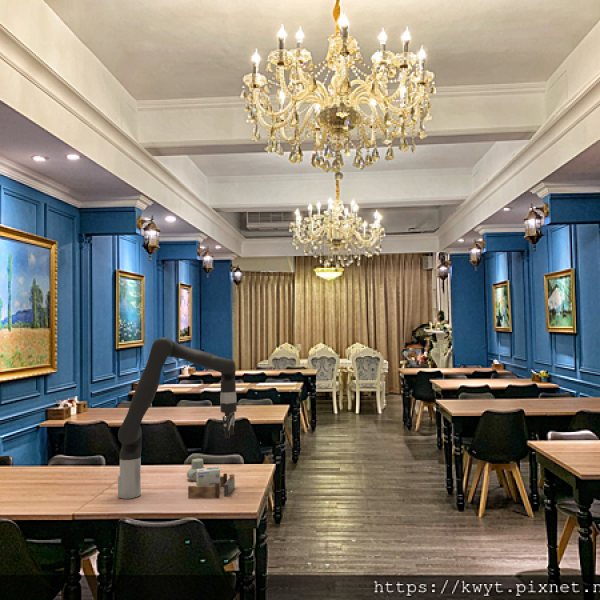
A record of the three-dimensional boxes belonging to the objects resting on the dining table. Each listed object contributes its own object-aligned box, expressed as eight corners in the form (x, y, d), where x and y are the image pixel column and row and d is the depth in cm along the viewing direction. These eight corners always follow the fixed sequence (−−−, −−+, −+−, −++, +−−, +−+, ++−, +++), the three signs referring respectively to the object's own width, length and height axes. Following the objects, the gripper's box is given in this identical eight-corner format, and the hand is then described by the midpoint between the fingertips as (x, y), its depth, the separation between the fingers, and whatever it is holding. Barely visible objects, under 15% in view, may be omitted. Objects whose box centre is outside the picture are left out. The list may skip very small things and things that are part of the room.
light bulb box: (218, 489, 257) (218, 466, 258) (221, 493, 251) (220, 469, 251) (195, 491, 254) (195, 468, 254) (197, 495, 247) (197, 471, 248)
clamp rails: (188, 498, 244) (188, 483, 244) (198, 486, 262) (198, 473, 262) (218, 498, 243) (218, 483, 243) (227, 486, 261) (227, 473, 261)
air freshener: (207, 476, 280) (207, 457, 281) (209, 480, 273) (209, 460, 273) (185, 478, 277) (185, 459, 278) (187, 483, 269) (187, 462, 270)
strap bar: (224, 496, 245) (224, 481, 245) (230, 487, 258) (230, 473, 259) (228, 496, 244) (228, 481, 245) (234, 487, 258) (234, 473, 259)
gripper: (224, 399, 261) (224, 433, 260) (216, 403, 247) (217, 439, 246) (239, 399, 261) (240, 433, 260) (232, 403, 247) (233, 439, 246)
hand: (229, 436), depth 253 cm, fingers open, 8 cm apart
